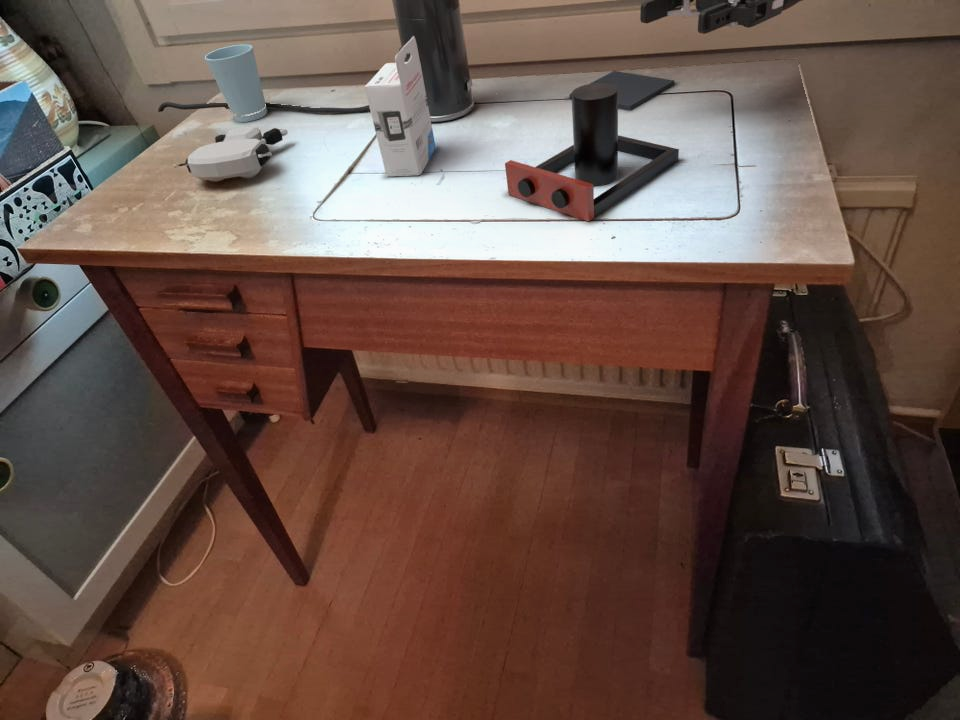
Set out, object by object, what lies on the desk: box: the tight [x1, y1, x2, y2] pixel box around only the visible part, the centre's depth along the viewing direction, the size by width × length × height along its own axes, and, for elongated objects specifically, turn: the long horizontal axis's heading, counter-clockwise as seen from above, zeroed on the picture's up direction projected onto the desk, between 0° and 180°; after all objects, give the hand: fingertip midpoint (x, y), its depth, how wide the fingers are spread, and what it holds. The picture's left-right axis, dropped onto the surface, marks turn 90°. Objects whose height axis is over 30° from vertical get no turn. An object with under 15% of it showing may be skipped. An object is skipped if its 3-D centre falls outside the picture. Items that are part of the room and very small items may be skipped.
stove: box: [504, 134, 680, 223], centre depth 77 cm, size 12×18×4 cm
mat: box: [568, 70, 676, 111], centre depth 98 cm, size 11×11×1 cm
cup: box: [204, 43, 268, 123], centre depth 109 cm, size 8×8×10 cm
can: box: [571, 83, 619, 187], centre depth 75 cm, size 5×5×10 cm
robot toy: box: [173, 125, 289, 182], centre depth 94 cm, size 12×4×15 cm
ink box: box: [364, 36, 437, 177], centre depth 84 cm, size 9×5×15 cm, turn 168°
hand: (670, 18), depth 73 cm, fingers open, 8 cm apart
